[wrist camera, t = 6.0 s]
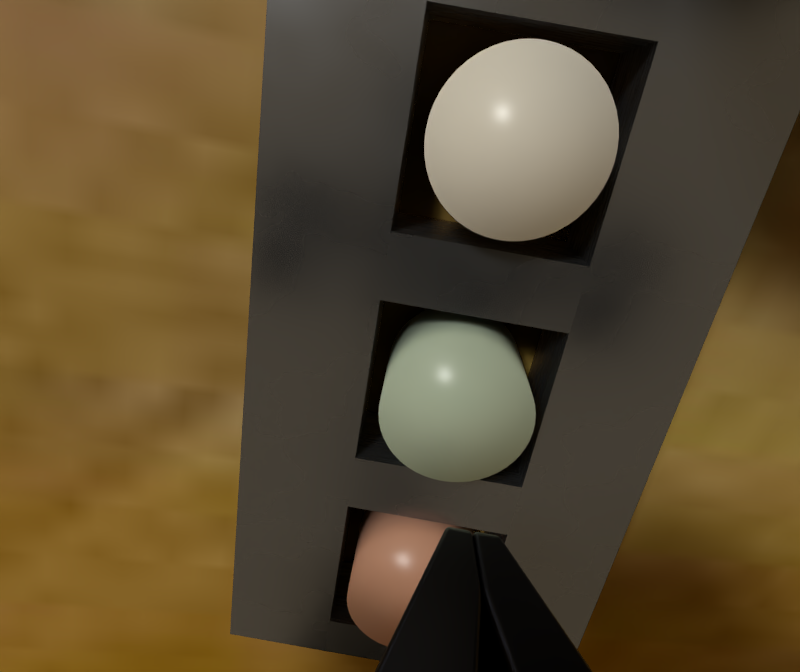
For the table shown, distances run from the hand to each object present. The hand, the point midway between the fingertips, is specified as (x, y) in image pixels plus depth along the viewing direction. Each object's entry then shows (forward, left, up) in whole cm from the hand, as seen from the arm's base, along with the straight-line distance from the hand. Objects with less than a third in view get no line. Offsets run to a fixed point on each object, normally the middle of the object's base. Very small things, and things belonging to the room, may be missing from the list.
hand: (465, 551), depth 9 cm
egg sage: (0, 0, -7) cm, 7 cm away
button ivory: (+6, 0, -7) cm, 9 cm away
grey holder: (0, 0, -8) cm, 8 cm away
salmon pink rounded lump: (-6, 0, -7) cm, 10 cm away
